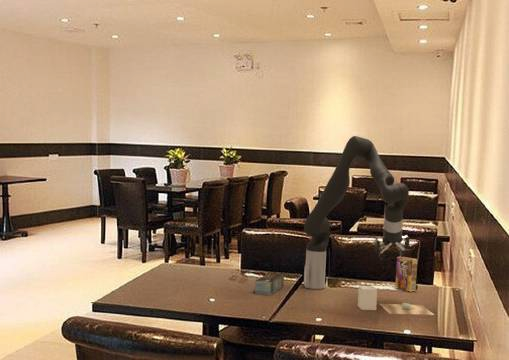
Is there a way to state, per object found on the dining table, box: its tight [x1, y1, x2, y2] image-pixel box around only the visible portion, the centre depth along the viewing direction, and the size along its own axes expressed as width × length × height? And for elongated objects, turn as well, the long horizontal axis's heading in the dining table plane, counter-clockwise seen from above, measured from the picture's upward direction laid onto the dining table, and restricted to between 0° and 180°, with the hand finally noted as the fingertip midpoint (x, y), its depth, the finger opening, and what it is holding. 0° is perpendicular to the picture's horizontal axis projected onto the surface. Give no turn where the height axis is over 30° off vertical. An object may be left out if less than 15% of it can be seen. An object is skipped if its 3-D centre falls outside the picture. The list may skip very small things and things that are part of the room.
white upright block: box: [357, 285, 378, 311], centre depth 234 cm, size 6×6×9 cm
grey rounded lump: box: [401, 302, 411, 310], centre depth 235 cm, size 3×3×2 cm
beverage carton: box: [254, 272, 285, 296], centre depth 261 cm, size 8×19×7 cm, turn 160°
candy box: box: [394, 255, 418, 293], centre depth 273 cm, size 9×4×15 cm, turn 39°
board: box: [379, 303, 435, 316], centre depth 235 cm, size 18×15×1 cm
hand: (391, 257), depth 248 cm, fingers open, 8 cm apart
